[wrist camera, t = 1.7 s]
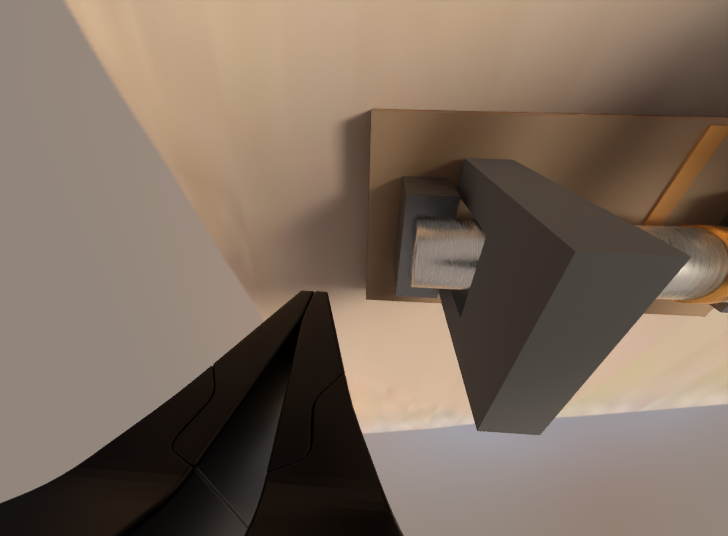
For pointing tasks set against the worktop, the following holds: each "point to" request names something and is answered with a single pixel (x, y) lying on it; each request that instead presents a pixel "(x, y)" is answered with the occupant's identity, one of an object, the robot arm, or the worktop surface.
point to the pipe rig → (466, 237)
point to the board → (553, 170)
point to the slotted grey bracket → (544, 293)
